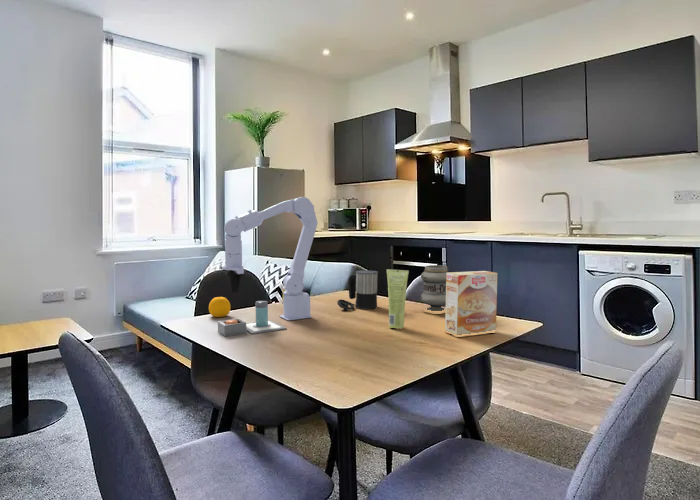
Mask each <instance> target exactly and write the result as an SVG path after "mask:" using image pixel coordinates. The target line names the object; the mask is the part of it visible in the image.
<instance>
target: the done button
mask: <svg viewBox="0 0 700 500" xmlns="http://www.w3.org/2000/svg"><path fill="white" fill-rule="evenodd" d="M227 320H228V321H226V325H228V324H236V323H238V321H237V320H233V319H227Z"/></svg>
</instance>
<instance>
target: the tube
mask: <svg viewBox="0 0 700 500" xmlns="http://www.w3.org/2000/svg"><path fill="white" fill-rule="evenodd" d="M409 273H410V271H409V270H403V269H386V278H387V290H388V291H387V292H388V293H387V294H388V328H389V327H390V328H389V329H391V328H403V327H404V328H405V313H406V312H405V310H406V309H405V308H406V299H407V298H406V297H407V286H408V279H409ZM404 328H403V329H404Z"/></svg>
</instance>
